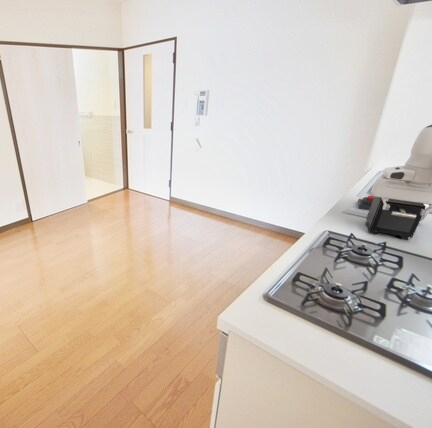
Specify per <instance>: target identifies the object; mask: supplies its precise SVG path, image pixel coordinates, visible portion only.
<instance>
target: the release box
mask: <svg viewBox="0 0 432 428" xmlns="http://www.w3.org/2000/svg"><path fill="white" fill-rule="evenodd" d="M367 198H368V196H364V197H362V198H358V199H357V202H356V204H357V208H358V209H359V210H364V211H369V210H370V207H371V204H372V202H373V201H370V200H367Z"/></svg>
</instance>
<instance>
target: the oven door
mask: <svg viewBox="0 0 432 428" xmlns="http://www.w3.org/2000/svg"><path fill="white" fill-rule="evenodd" d="M386 204H389V205H390V208H389V210H383V209H382V208H383V205H384V203H383V202H380V205H379V208H378V210H377V213H376V215H375V218H374V221H373V223H372V226H371V228H370V230H372V231H377V233H383V234H384V233H385V234H389V235H394V236H399V237H400V236H405V237H409V238H410V239H411V238H413V237H414V235H415V233H416V230H417V229H418V226H419V224H420V222H421V221H420V220H421V217H422V216H421V215H419V213H420V212H421V209H424V210H425V209H426V207H425V208H421V207H414V206H406V205H399V204H392V203H386Z"/></svg>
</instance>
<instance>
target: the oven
mask: <svg viewBox="0 0 432 428" xmlns="http://www.w3.org/2000/svg"><path fill="white" fill-rule="evenodd" d="M380 202H383V201H382V198H381V197H374V199H373V202H372V204H371V207H370V210H368V213H367V215H366V218H365V219H366V224H367V228H368V233H369V234H371V235H376V234H377V233H378V232H377V231H372V230H370V228H371V226H372V223H373V221H374V218H375V215H376V213H377V210H378V208H379V205H380ZM386 203H392V204H399V205H406V206H414V207H421V208H425V209H426V208H427V206H426V205H425V203H418V202H410V201H403V200H396V199H389V200H388V201H386ZM409 238H410V237H405V236H399V239H400V240H403V241H404V240H405V241H408V240H409Z"/></svg>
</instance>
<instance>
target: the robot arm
mask: <svg viewBox="0 0 432 428" xmlns="http://www.w3.org/2000/svg"><path fill="white" fill-rule="evenodd" d="M370 194H371V196H374V197H381V198H382V201H383V203H384V205H383V208H382V209H383V210H389V208H390V205H389V204H386V201H388V200H389V199H396V200H403V201H410V202H418V203H423V204H424V205H425V204H426V205H428V207H425V210H424V209H421V212H420V213H419V215H421V216H425V217H428V214H429V213H430V212H432V124H430V125H427V126H425V127H424V128H422V129H421V131H419V133H418V135H417V136H416V138H415V141H414V142H413V144H412V147H411V148H410V155H409V158H408V159H407V160H406V162H405V164H404V165H397V166H390V167H385V168H384V169H383V171H382V174H381V175H379V176H378V177H377V179H376V180H375V182H374V183H373V185H372V188H371V190H370Z"/></svg>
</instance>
